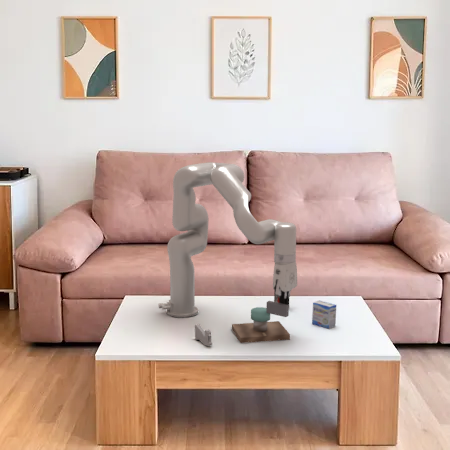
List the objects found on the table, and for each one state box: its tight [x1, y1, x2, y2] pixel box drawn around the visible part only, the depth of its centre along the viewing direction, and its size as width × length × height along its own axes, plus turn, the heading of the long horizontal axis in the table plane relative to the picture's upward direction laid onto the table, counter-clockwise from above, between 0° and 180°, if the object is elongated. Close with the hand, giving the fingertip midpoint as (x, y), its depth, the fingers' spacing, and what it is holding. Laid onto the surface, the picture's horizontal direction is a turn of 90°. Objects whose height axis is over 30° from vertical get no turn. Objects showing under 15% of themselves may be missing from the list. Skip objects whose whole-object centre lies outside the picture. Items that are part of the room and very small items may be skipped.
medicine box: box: [311, 300, 337, 330], centre depth 258 cm, size 8×4×9 cm, turn 47°
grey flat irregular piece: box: [194, 323, 213, 347], centre depth 240 cm, size 6×1×10 cm
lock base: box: [231, 320, 291, 344], centre depth 248 cm, size 18×14×6 cm
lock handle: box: [250, 300, 290, 322], centre depth 245 cm, size 14×7×7 cm, turn 54°
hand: (284, 308), depth 245 cm, fingers closed
